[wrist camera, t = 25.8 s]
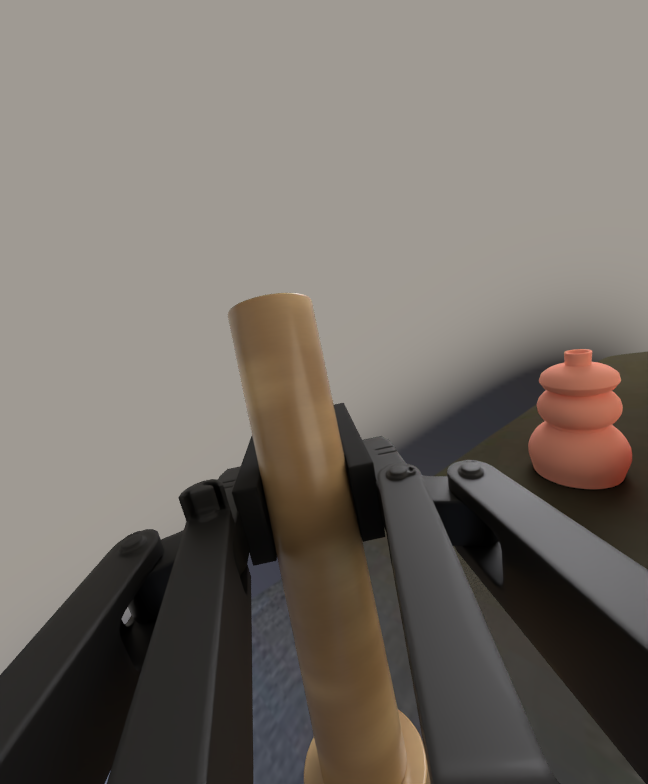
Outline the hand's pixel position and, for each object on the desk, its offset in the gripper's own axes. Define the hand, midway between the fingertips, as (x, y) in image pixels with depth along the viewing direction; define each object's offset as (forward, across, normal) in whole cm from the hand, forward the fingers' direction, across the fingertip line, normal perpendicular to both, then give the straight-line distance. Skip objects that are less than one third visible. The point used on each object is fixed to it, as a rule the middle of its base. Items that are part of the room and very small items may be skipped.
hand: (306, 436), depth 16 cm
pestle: (-9, 0, -10) cm, 13 cm away
